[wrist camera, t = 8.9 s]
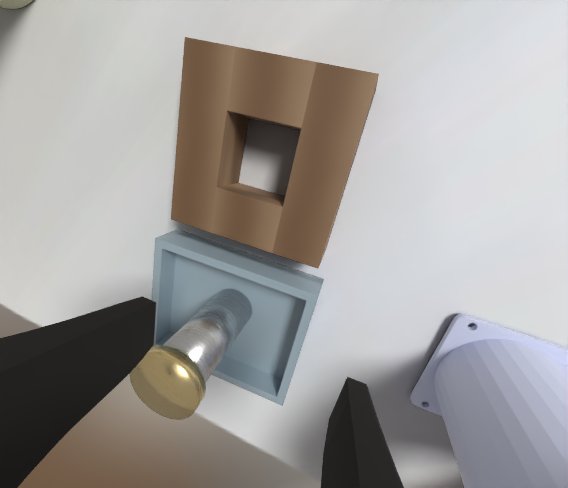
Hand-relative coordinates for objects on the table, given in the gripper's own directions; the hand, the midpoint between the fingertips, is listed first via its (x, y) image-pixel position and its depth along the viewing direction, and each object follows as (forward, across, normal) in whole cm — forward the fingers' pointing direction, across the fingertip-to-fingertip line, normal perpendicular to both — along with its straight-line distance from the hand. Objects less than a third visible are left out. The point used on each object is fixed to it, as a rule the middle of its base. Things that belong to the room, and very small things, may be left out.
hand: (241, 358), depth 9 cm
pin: (+10, +4, +6) cm, 12 cm away
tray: (+10, +4, +6) cm, 13 cm away
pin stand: (+10, +4, -6) cm, 13 cm away
